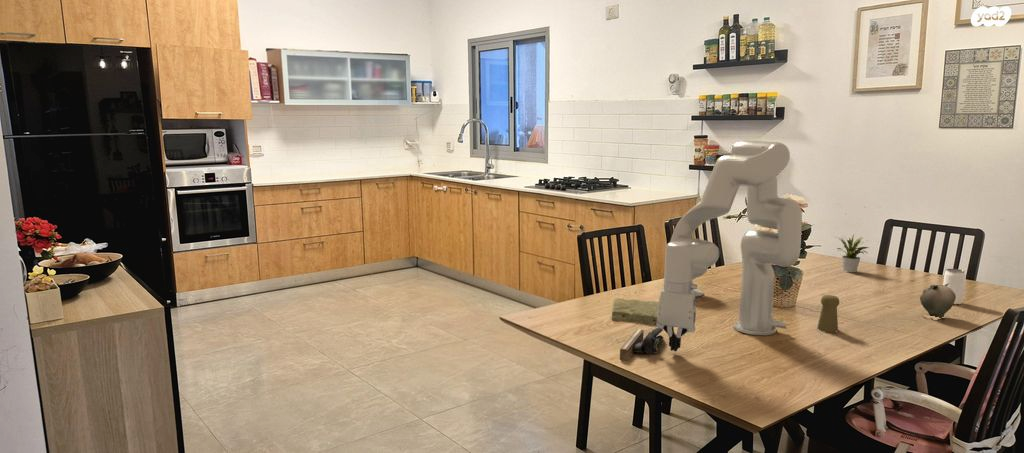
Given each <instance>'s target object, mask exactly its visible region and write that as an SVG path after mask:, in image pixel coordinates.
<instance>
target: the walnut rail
mask: <svg viewBox="0 0 1024 453" xmlns="http://www.w3.org/2000/svg"><path fill="white" fill-rule="evenodd" d="M644 332H645V330H644V329H642V328H637V329H636V330H635V331H634V332H632V335H630V337H629V338H628V339H627V340H626V341H625V342H624V344H623V345H622V346H621V347H620V348H619V360H623V361H628V360H629V358H630V357H631V356H632V355H633V353H634V352H635V351H634V345H635V344H636V343H640V342H643V340H644V334H645V333H644Z"/></svg>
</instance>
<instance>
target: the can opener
mask: <svg viewBox="0 0 1024 453" xmlns="http://www.w3.org/2000/svg"><path fill="white" fill-rule="evenodd" d="M663 331H664V329H661V328H658V327H656V328H654V329H652V330H650V331H649V332H648V333H647V334H646V336H645V337H643V341H642V342H640V343H636V344H635V345H634V352H635V353H642V354H644V353H646V354H651V355H652V354H656V353H658V352H659V350H658V345H659V344H660V343H661V342H662V341H663V340H664V336H663V335H661V333H662V332H663Z"/></svg>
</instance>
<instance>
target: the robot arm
mask: <svg viewBox="0 0 1024 453" xmlns="http://www.w3.org/2000/svg"><path fill="white" fill-rule="evenodd" d="M730 149H731V150H730V153H731V154H726V155H722V156H720V157H719V158H718V159H717V160H716V161H715V164H714V166H713V169H712V171H711V174H710V176H709V179H708V181H707V184H706V187H705V189H704V192H703V194H702V196H701V199H700V201H699V202H698V203H697V204H695V205H694V206H693V207H691V208H690V209H689V210H688V211H687V212H686V213H685V214H684V215H683V216H682V217H681V218H680V219H679V220H678V222H677V223H676V225H675V226H674V230H673V233H672V235H671V238H670V240H669V242H668V243H667V244H666V246H665V253H664V254H665V255H664V273H663V275H664V276H663V288H662V289H661V290H660V294H659V300H658V302H659V304H658V312H657V324H656V328H661V329H663V331H665V333H666V334H667V336H668V347H670V352H671V351H672V352H677V351H678V349H680V348H681V345H682V337H683V336H685V334H686V333H694V332H695V331H696V325H695V324H696V320H697V319H696V317H697V316H696V315H697V308H696V304H697V302H696V297H695V293H694V292H693V291H691V290H694V289H697V288H698V284H695V283H694V282H693V280H692V271H693V268H694V267H708V268H709V267H712V266H713V265H714V264H716V263H717V261H718V260H719V258H720V249H719V247H718V246H717V244H715V243H713V242H712V241H709V240H706V239H700V238H695V237H692V236H693V234H694V232H695V231H696V229H698V227H700V226H701V225H702V224H704V223H706V222H707V221H710V220H713V219H716V218H718V217H723V216H725V215H728V213H729V212H730V211H731V209H732V206H733V203H734V201H735V199H736V195H737V194H738V190H739V187H740V186H745V187H747V196H746V197H747V199H746V200H747V202H746V217H747V221H748V223H749V224H751V225H753V226H756V227H761V228H767V229H771V230H772V229H773V230H777V232H775V231H768V230H761V229H752V230H751V229H750V230H749V231H747V232H745V234H744V235H742V237H741V241H740V250H741V251H740V252H741V260H742V273H741V286H740V287H741V289H740V303H739V318H738V319H739V320H737V321H734V323H733V328H734V330H736V331H737V332H740V333H744V334H747V335H750V336H751V335H753V336H771V335H774V334H775V333H776V332H777V328H779V329H783V330H787V327H788V326H787V325H788V322H786V321H785V322H784V321H783V320H777V319H775V318H774V314H773V305H774V291H775V278H776V276H775V271H774V268H773V267H772V265H775V266H779V267H780V266H781V267H792V266H793V265H795V264H796V263H797V262H798V260H799V257H800V254H801V244H802V228H803V227H802V224H803V213H802V209H801V206H800V204H799V202H797V201H796V200H794V199H791V198H788V197H786V198H785V197H779V196H778V195H779V194H778V179H777V178H778V177H777V175H779V174H780V173H782V172H783V171H784V170H785V169H786V167H787V166H788V164H789V162H790V157H791V152H790V149H789V148H788V146H787V145H786V144H784V143H782V142H779V141H778V142H777V141H761V140H741V141H737V142H735V143H734V144H733V145H732V146H731V148H730ZM697 290H698V289H697ZM675 328H677V331H676V333H675Z"/></svg>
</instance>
